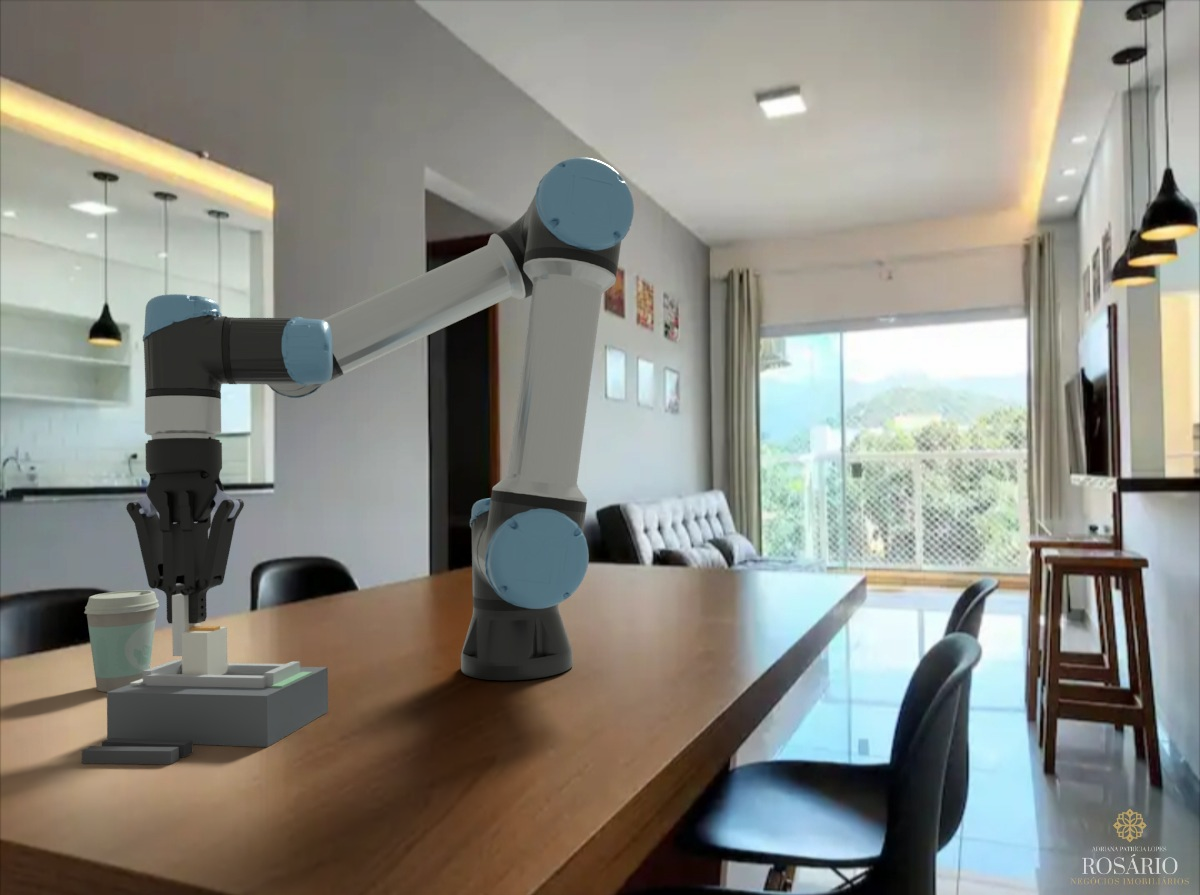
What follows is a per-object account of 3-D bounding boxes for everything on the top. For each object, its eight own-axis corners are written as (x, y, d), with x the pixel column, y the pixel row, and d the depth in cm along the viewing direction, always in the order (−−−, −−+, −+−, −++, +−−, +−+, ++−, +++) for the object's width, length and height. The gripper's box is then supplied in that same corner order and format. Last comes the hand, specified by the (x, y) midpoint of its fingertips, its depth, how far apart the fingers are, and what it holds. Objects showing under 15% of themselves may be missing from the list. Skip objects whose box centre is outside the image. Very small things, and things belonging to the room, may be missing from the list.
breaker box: (328, 711, 93) (327, 654, 93) (267, 746, 81) (266, 681, 81) (185, 708, 96) (185, 653, 96) (107, 741, 84) (106, 678, 84)
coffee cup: (126, 696, 102) (125, 599, 102) (68, 694, 104) (67, 599, 104) (174, 678, 110) (174, 589, 111) (120, 677, 112) (119, 589, 113)
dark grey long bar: (192, 752, 80) (192, 740, 80) (184, 757, 78) (184, 744, 79) (110, 750, 81) (110, 737, 81) (101, 754, 80) (101, 741, 80)
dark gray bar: (178, 759, 78) (178, 746, 78) (171, 764, 77) (170, 751, 77) (90, 758, 79) (90, 746, 79) (81, 763, 78) (81, 750, 78)
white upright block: (227, 672, 90) (227, 624, 91) (207, 680, 87) (207, 630, 87) (202, 672, 91) (202, 624, 91) (182, 679, 88) (181, 629, 88)
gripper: (258, 436, 93) (261, 646, 92) (155, 441, 95) (158, 645, 94) (215, 434, 85) (219, 661, 85) (106, 438, 88) (108, 660, 87)
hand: (187, 653), depth 89 cm, fingers closed
